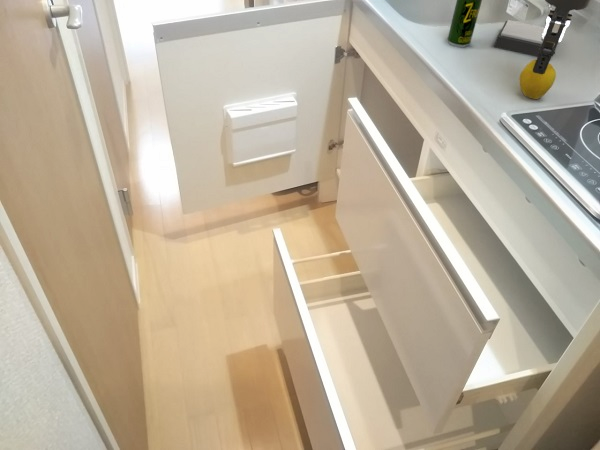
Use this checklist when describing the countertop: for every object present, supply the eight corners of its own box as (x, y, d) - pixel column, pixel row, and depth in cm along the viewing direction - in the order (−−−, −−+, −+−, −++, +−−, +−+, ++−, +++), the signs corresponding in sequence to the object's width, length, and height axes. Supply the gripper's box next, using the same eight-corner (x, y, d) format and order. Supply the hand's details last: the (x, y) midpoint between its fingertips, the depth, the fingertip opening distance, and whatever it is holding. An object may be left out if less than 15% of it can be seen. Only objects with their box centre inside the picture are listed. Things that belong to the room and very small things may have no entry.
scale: (553, 41, 125) (558, 28, 123) (547, 58, 118) (552, 45, 116) (502, 30, 129) (506, 18, 127) (494, 46, 122) (498, 33, 119)
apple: (515, 86, 108) (528, 49, 102) (547, 92, 106) (562, 55, 100) (512, 100, 103) (525, 62, 98) (545, 107, 101) (561, 69, 96)
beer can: (442, 40, 123) (454, -13, 115) (459, 36, 125) (472, -16, 117) (457, 49, 120) (470, -4, 111) (474, 45, 122) (489, -8, 113)
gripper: (596, -9, 83) (557, 84, 94) (601, -32, 92) (565, 54, 104) (548, -18, 85) (515, 74, 96) (557, -40, 95) (526, 46, 106)
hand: (541, 64), depth 100 cm, fingers open, 8 cm apart
